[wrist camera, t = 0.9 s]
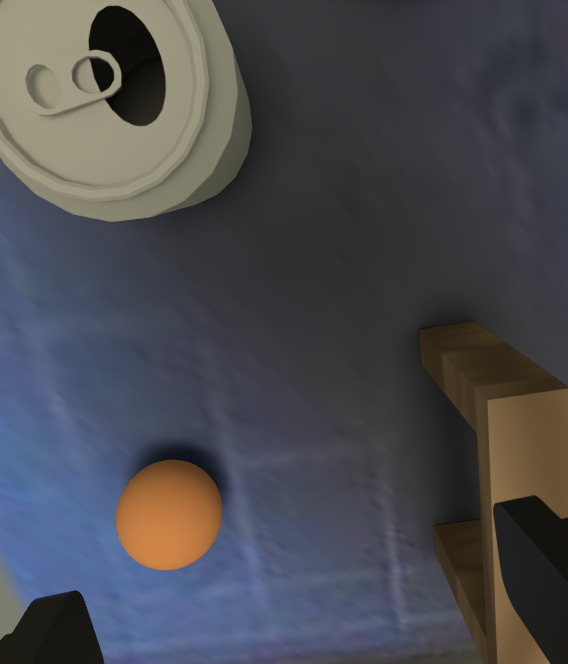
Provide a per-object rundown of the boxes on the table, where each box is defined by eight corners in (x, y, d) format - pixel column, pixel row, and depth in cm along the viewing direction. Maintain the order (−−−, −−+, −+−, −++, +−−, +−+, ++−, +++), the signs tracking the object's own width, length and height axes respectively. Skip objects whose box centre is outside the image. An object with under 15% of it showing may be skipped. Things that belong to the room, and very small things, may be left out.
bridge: (435, 553, 31) (498, 699, 22) (418, 329, 27) (487, 400, 18) (484, 546, 31) (566, 690, 22) (474, 321, 27) (570, 388, 18)
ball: (177, 422, 28) (155, 477, 23) (246, 484, 30) (240, 549, 24) (112, 482, 30) (76, 548, 24) (181, 539, 31) (162, 614, 25)
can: (271, 182, 25) (268, 183, 13) (127, 224, 25) (4, 258, 14) (226, 15, 23) (177, -153, 11) (70, 64, 23) (-130, -52, 12)
